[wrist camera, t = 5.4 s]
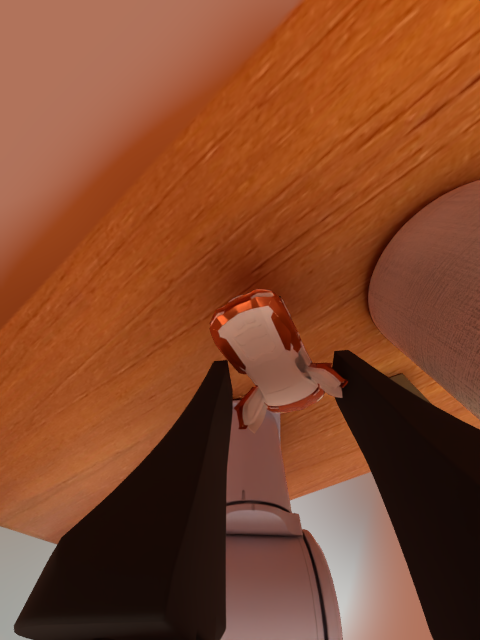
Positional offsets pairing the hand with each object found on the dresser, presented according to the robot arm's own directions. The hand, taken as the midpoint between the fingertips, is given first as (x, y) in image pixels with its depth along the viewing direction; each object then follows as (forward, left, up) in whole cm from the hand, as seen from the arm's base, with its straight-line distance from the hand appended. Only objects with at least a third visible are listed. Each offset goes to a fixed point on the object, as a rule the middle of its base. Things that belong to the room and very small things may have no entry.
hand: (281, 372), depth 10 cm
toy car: (0, 0, -2) cm, 2 cm away
